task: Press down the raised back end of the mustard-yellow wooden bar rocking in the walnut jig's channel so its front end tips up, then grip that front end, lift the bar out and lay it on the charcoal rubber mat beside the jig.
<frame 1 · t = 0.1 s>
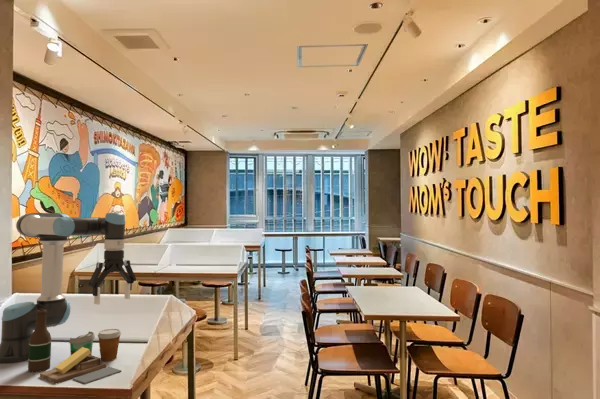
hand: (112, 301, 166), 28 cm above the table, tool pointing down, fingers open, 13 cm apart
beer bottle: (39, 369, 164), on the table
disposable coffee cup: (108, 359, 177), on the table
charcoal mat: (97, 375, 158), on the table
walnut jig: (74, 372, 161), on the table
mustard bar: (74, 362, 161), point 4 cm above the table, touching walnut jig
food container: (84, 358, 178), on the table
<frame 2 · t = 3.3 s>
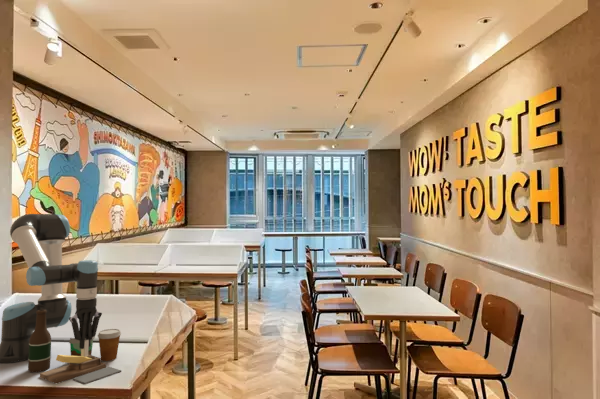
hand: (84, 355, 165), 5 cm above the table, tool pointing down, fingers closed
mustard bar: (73, 361, 161), point 4 cm above the table, tilted 44°, touching walnut jig
everything else where it was.
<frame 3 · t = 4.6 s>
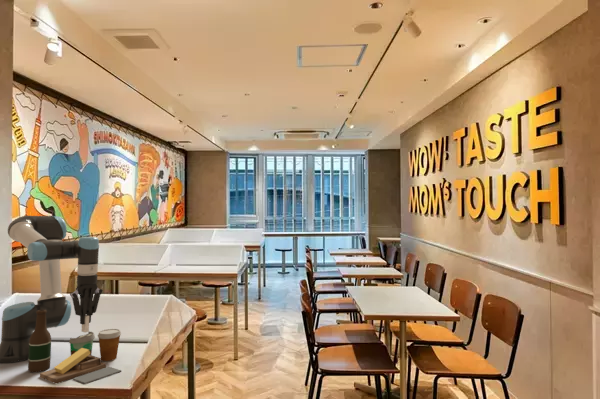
hand: (85, 331, 166), 15 cm above the table, tool pointing down, fingers closed
mustard bar: (73, 362, 161), point 4 cm above the table, touching walnut jig
everything else where it was.
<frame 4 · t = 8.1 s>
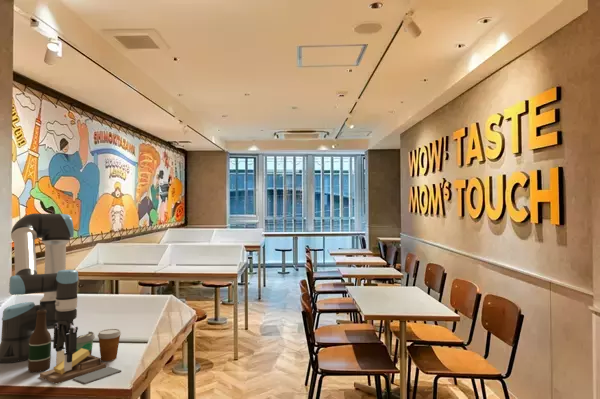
hand: (63, 368, 158), 3 cm above the table, tool pointing down, fingers closed on mustard bar, 5 cm apart
mustard bar: (73, 362, 161), point 4 cm above the table, touching gripper, walnut jig
everything else where it was.
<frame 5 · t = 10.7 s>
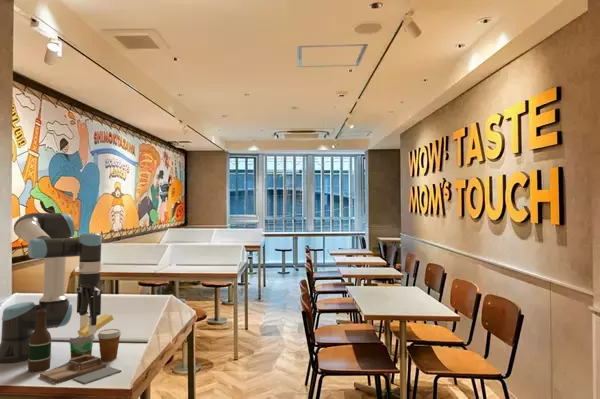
hand: (87, 332, 156), 17 cm above the table, tool pointing down, fingers closed on mustard bar, 5 cm apart
mustard bar: (96, 327, 159), point 19 cm above the table, touching gripper
everything else where it was.
when the fingers open (3 cm above the table, at t = 13.7 s): mustard bar drops 4 cm, resting on charcoal mat.
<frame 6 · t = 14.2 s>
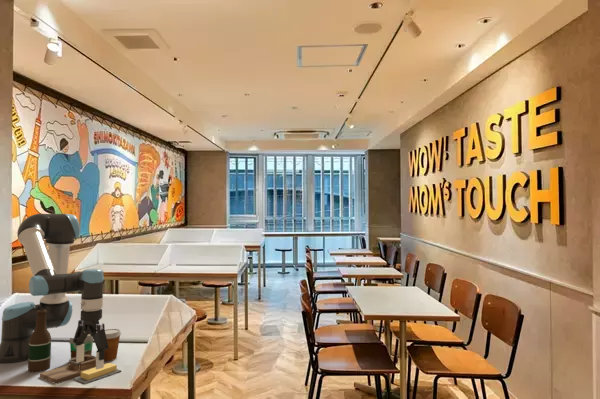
hand: (89, 365, 155), 5 cm above the table, tool pointing down, fingers open, 13 cm apart
mustard bar: (99, 373, 159), resting on charcoal mat, tilted 25°
everything else where it was.
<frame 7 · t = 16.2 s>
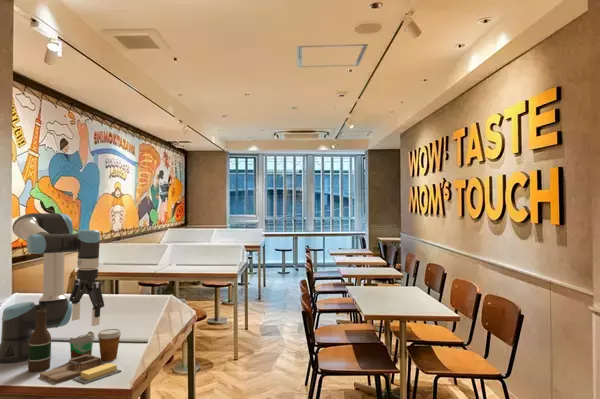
hand: (85, 322, 159), 21 cm above the table, tool pointing down, fingers open, 13 cm apart
nothing on the table moved.
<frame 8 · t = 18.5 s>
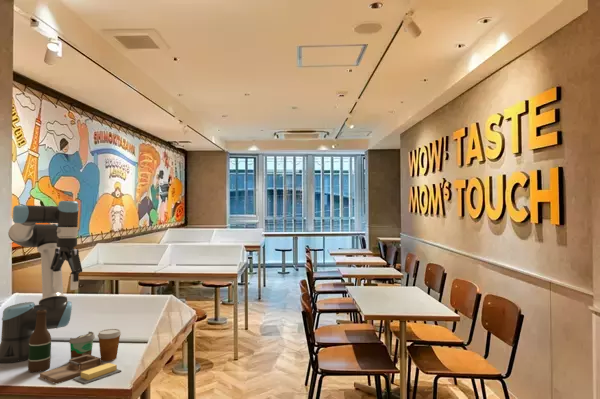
hand: (65, 288, 168), 33 cm above the table, tool pointing down, fingers open, 13 cm apart
nothing on the table moved.
at the end: mustard bar inside the target area (0.8 cm from its centre), point 0.5 cm above the table; the gripper is holding nothing; mustard bar moved 12.4 cm from its start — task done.
